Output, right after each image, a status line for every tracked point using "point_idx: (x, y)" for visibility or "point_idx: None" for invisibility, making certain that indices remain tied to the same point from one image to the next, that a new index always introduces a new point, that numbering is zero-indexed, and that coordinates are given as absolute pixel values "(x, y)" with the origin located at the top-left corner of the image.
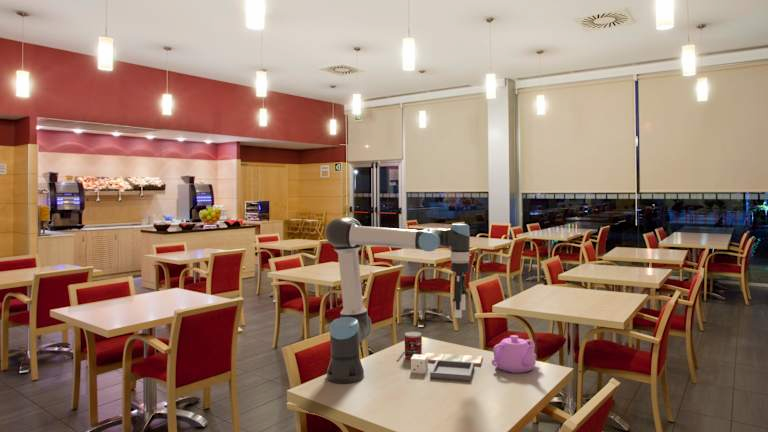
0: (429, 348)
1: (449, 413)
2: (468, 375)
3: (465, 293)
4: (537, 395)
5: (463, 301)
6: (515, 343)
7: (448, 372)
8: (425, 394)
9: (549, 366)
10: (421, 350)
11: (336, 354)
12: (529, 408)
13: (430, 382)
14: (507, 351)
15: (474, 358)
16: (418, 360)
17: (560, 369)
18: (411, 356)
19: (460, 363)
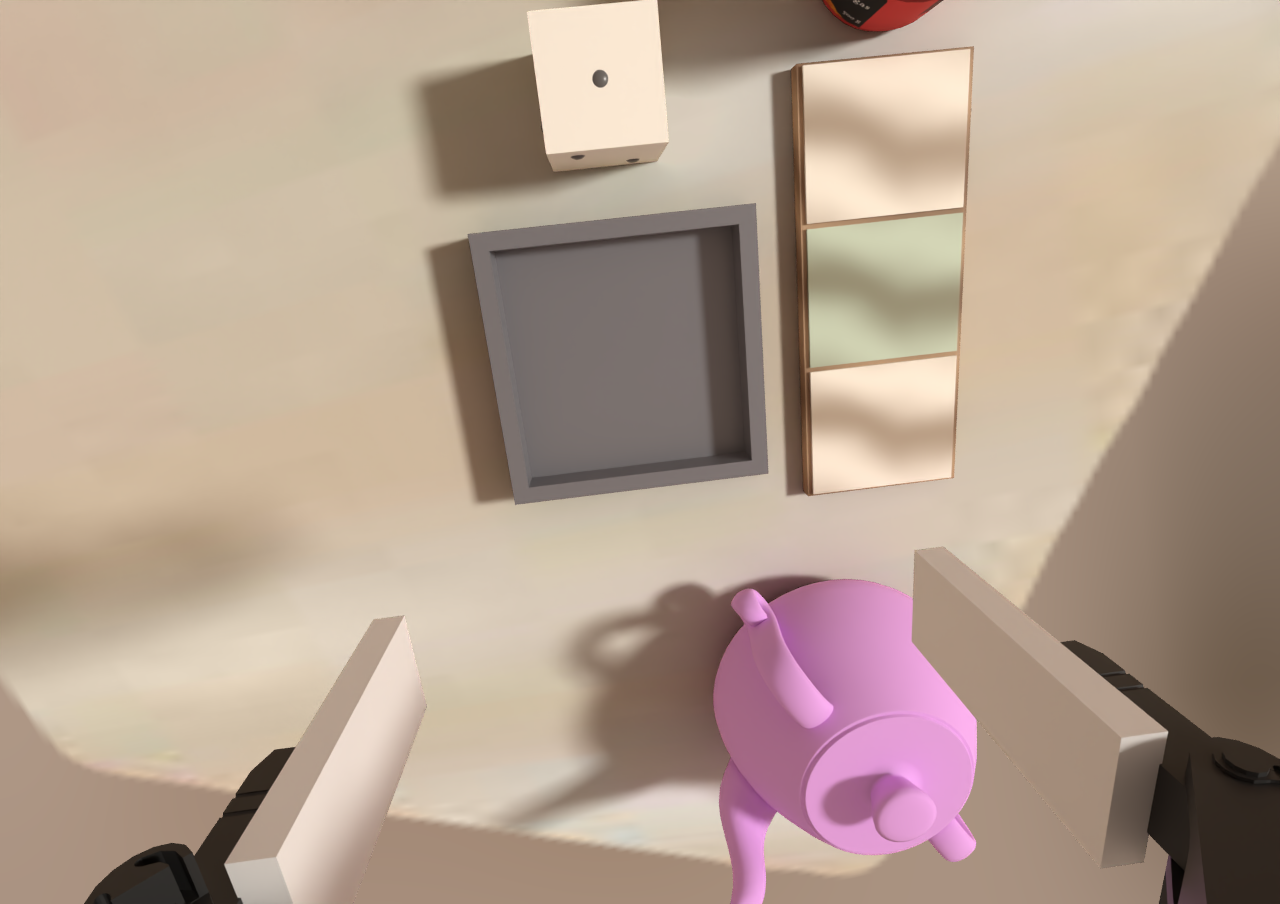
0: (1132, 30)
1: (19, 491)
2: (514, 494)
3: (1168, 880)
4: (467, 807)
5: (995, 712)
6: (829, 804)
7: (604, 334)
8: (197, 286)
9: None
10: (907, 12)
11: None
12: None
13: (407, 259)
14: (766, 731)
15: (897, 441)
16: (539, 94)
17: None
18: None
19: (745, 387)
